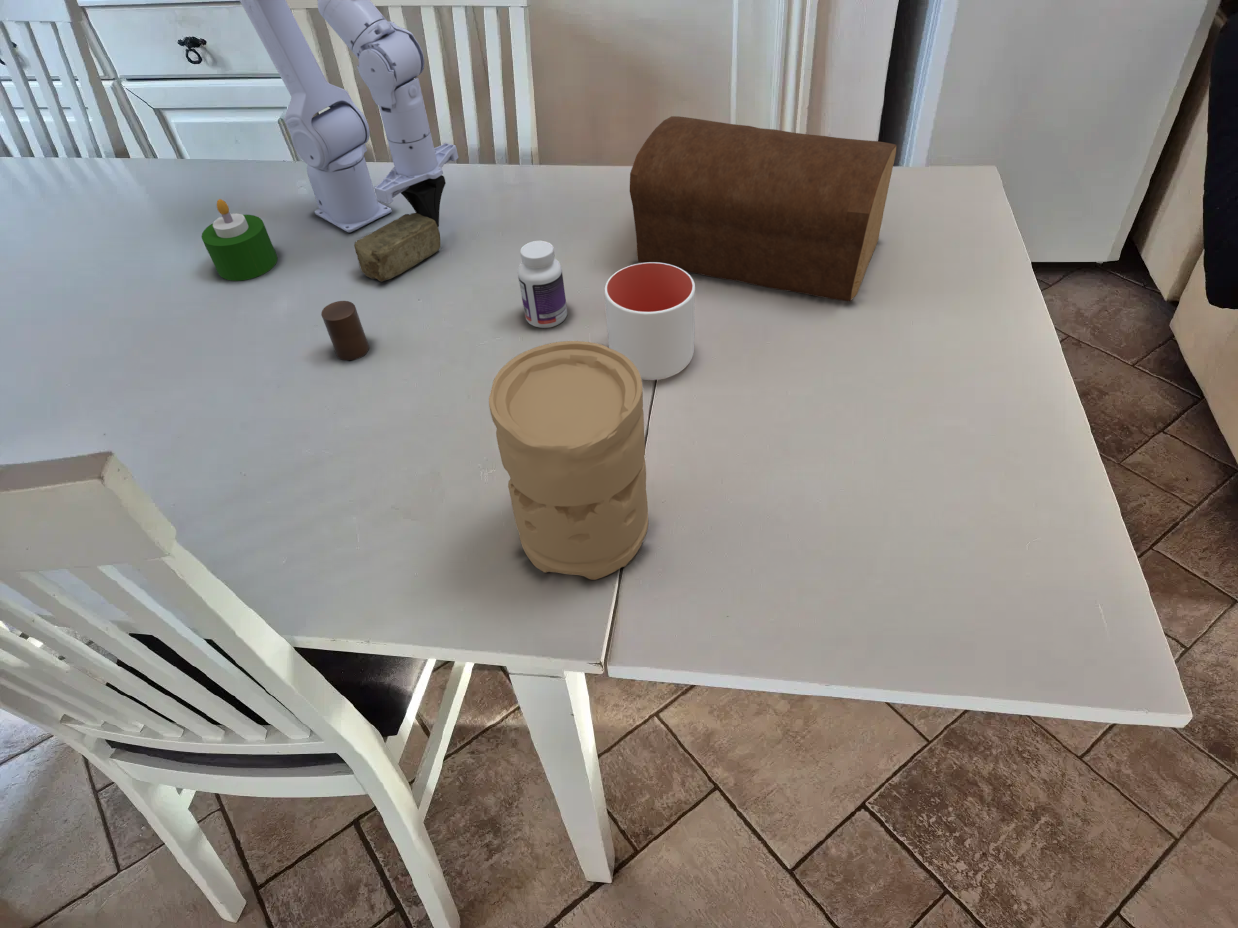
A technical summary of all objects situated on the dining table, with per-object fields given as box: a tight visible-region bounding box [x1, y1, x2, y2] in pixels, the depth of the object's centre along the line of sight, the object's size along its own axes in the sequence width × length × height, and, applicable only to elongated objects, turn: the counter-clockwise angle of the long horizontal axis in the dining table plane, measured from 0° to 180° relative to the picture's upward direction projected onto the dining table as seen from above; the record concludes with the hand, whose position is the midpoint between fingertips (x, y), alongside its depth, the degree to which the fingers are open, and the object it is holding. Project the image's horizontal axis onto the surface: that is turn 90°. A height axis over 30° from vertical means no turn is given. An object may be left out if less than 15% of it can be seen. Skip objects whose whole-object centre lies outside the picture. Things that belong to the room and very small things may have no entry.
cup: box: [603, 262, 696, 381], centre depth 93 cm, size 10×10×10 cm
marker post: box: [320, 300, 370, 361], centre depth 98 cm, size 4×4×6 cm
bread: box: [629, 115, 897, 302], centre depth 105 cm, size 18×30×16 cm, turn 67°
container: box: [488, 340, 649, 581], centre depth 72 cm, size 13×13×18 cm
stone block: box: [353, 212, 442, 283], centre depth 112 cm, size 6×12×5 cm, turn 141°
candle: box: [201, 198, 278, 282], centre depth 112 cm, size 8×8×10 cm
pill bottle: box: [517, 240, 568, 329], centre depth 100 cm, size 5×5×10 cm
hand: (431, 227), depth 117 cm, fingers closed
